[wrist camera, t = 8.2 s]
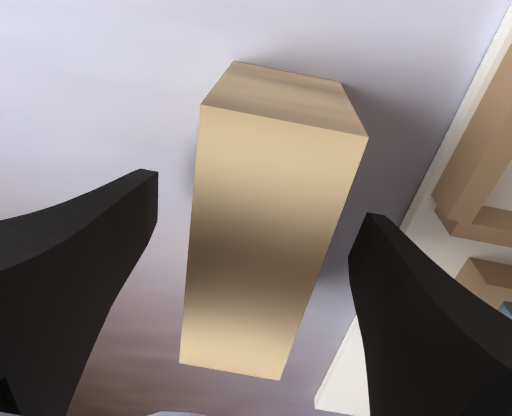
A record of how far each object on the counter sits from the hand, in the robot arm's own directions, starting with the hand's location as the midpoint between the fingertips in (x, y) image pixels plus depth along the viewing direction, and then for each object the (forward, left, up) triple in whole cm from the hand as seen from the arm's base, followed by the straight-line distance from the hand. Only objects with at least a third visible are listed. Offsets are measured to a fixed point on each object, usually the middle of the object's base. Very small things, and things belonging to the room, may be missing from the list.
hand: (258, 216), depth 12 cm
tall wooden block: (0, 0, -2) cm, 2 cm away
